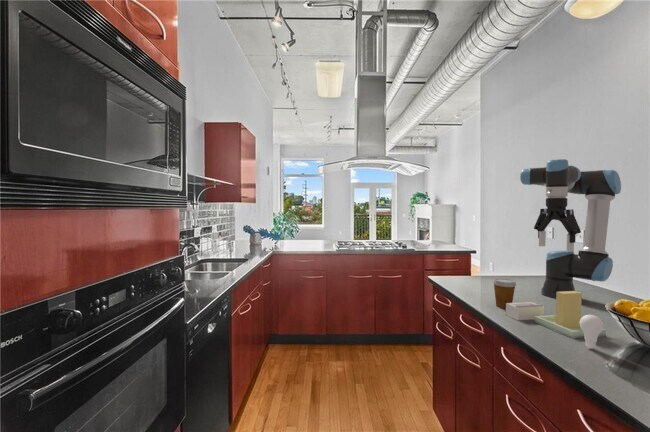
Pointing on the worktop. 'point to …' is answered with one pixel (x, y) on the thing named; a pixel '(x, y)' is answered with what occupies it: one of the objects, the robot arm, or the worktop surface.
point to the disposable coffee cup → (504, 291)
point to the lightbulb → (591, 329)
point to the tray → (570, 332)
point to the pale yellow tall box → (568, 309)
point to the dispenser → (524, 310)
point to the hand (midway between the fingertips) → (555, 248)
